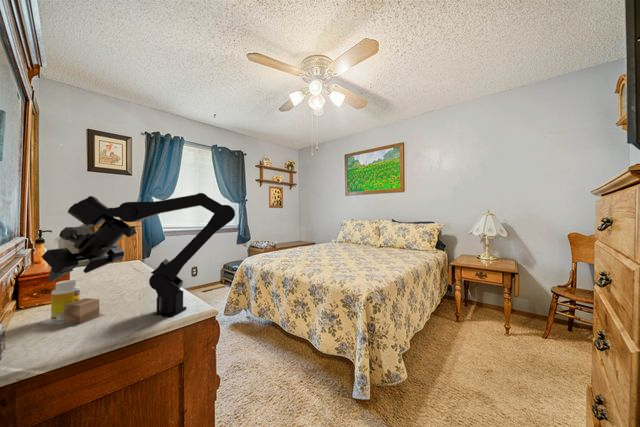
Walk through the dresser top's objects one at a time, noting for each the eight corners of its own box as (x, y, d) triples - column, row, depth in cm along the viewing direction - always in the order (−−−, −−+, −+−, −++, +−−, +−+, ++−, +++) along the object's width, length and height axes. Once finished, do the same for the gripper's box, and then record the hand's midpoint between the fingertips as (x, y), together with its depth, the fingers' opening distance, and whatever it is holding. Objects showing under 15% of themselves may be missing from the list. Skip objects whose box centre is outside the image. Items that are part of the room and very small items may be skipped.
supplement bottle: (77, 318, 68) (78, 282, 68) (48, 323, 65) (49, 285, 65) (80, 312, 73) (80, 278, 73) (53, 317, 69) (53, 281, 69)
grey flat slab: (106, 315, 71) (106, 314, 71) (74, 328, 63) (74, 326, 63) (71, 313, 73) (71, 311, 73) (37, 325, 65) (37, 323, 65)
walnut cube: (99, 316, 70) (99, 299, 70) (79, 323, 65) (79, 305, 65) (84, 315, 71) (84, 298, 71) (64, 322, 66) (64, 304, 66)
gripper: (115, 216, 78) (82, 251, 78) (49, 217, 59) (5, 262, 60) (139, 241, 78) (105, 275, 78) (79, 249, 59) (36, 294, 59)
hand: (68, 275), depth 69 cm, fingers open, 9 cm apart
